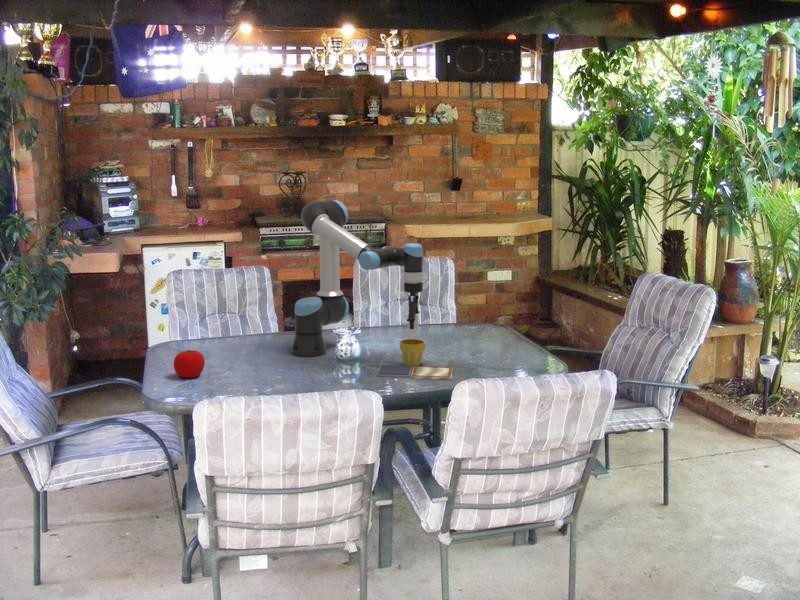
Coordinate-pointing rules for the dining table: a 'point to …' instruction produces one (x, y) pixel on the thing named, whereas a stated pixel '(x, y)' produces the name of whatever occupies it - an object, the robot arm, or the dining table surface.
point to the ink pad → (394, 371)
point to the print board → (432, 372)
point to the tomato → (189, 364)
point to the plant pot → (412, 351)
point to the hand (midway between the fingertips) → (413, 333)
